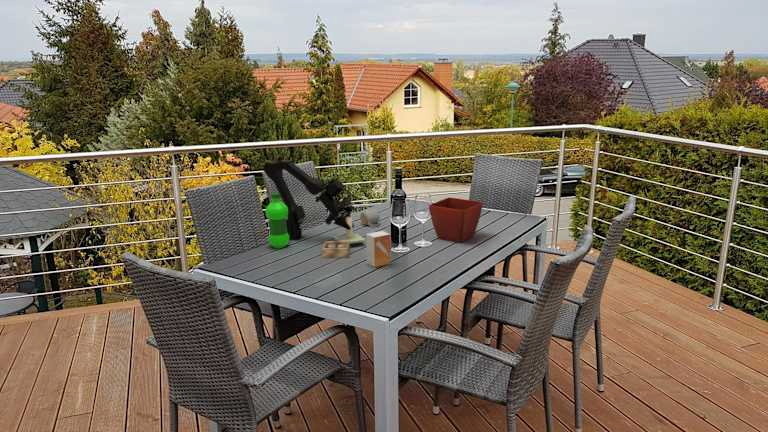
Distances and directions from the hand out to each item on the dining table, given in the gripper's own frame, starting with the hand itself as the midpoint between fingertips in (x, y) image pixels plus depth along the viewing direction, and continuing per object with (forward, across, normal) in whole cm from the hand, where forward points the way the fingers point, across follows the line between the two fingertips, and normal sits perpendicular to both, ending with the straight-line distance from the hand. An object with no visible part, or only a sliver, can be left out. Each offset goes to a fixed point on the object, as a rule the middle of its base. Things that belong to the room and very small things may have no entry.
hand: (351, 228), depth 253 cm
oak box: (+5, -14, +6) cm, 16 cm away
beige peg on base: (+3, 0, +5) cm, 6 cm away
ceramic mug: (+1, +34, +11) cm, 36 cm away
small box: (+22, -20, -11) cm, 31 cm away
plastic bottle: (-16, -15, +27) cm, 35 cm away
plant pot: (+35, +27, -24) cm, 50 cm away
